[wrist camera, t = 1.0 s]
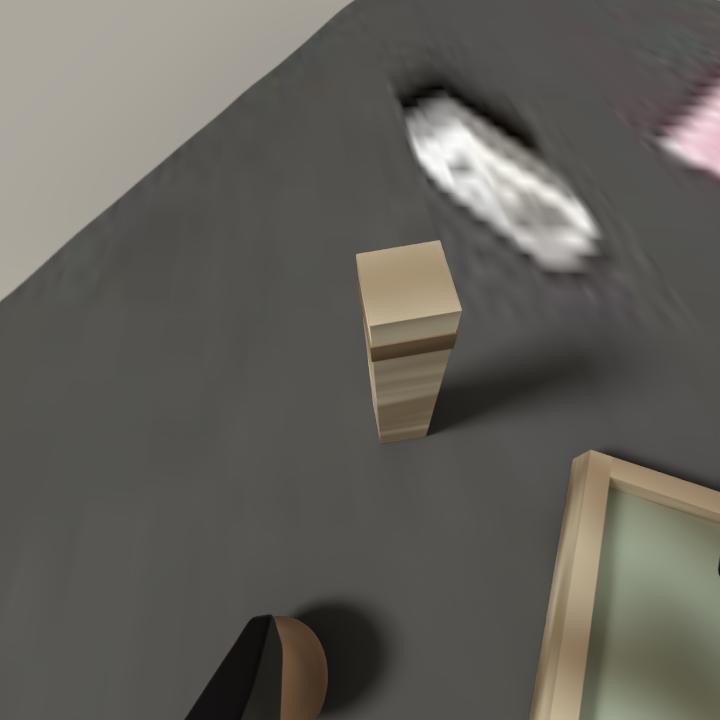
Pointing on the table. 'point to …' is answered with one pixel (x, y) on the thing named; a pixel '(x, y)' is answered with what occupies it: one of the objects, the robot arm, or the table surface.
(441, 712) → the table surface
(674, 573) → the tray
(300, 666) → the bead
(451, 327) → the tall beige post
